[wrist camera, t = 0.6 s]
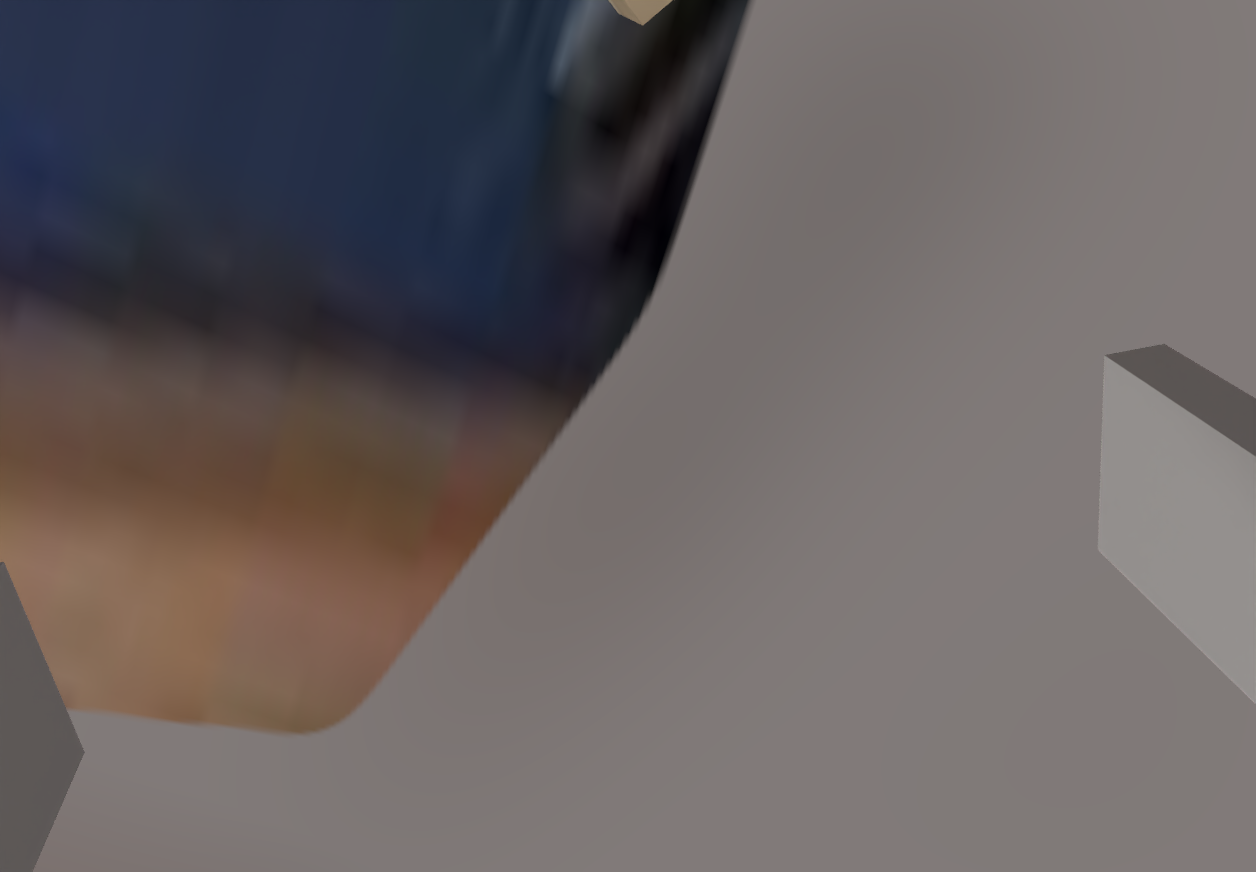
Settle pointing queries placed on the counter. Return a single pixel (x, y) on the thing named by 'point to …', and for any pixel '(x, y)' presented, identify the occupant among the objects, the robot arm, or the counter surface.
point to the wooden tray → (639, 8)
